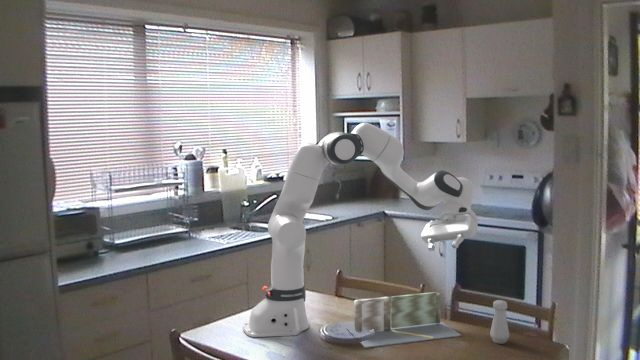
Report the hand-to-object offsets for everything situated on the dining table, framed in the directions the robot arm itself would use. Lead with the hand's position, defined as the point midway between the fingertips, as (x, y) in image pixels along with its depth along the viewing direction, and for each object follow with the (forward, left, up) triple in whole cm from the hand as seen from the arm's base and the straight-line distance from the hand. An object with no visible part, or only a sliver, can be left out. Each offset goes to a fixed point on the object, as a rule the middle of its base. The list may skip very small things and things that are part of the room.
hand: (442, 248), depth 205 cm
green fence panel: (-9, +2, -26) cm, 27 cm away
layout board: (-15, -1, -27) cm, 31 cm away
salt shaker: (+11, -18, -27) cm, 34 cm away
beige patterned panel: (-24, +2, -27) cm, 36 cm away
